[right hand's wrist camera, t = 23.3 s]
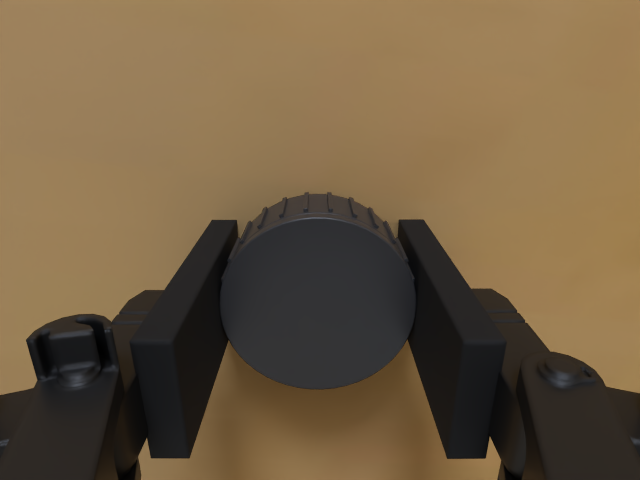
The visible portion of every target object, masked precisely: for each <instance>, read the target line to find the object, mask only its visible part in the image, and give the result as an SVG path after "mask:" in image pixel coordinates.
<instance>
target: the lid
mask: <svg viewBox="0 0 640 480" xmlns="http://www.w3.org/2000/svg"><path fill="white" fill-rule="evenodd" d="M227 262H228V265H227V267H226V269H225V271H224V274H223V276H222V278H221V282H222V286H221V290H220V301H219V305H220V316H221V320H222V325H223V327H224V330H225V333H226V335H227V337H228V339H229V341H230V343H231V345H232V346H233V348H234V349H235V350H236V352H237V353H238V354H239V355H240V356H241V358H242V359H243V360H244V361H245V362H246V363H247V364H249V365H250V366H251V367H252V368H254V369H255V370H256V371H258V372H259V373H261V374H263V375H264V376H266V377H268V378H270V379H272V380H274V381H277V382H279V383H282V384H285V385H289V386H293V387H297V388H305V389H331V388H338V387H343V386H347V385H350V384H353V383H356V382H359V381H361V380H363V379H365V378H368V377H369V376H371V375H373V374H374V373H376V372H378V371H379V370H380V369H382V368H383V367H384V366H386V365H387V364H388V363H389V362H390V361H391V360H392V359H393V358H394V357H395V356H396V355H397V354H398V352H399V351H400V350H401V349H402V347H403V345H404V344H405V342H406V340H407V339H408V337H409V334H410V332H411V330H412V327H413V323H414V319H415V314H416V306H417V305H416V291H415V286H414V282H415V279H414V276H413V274H412V272H411V270H410V267H409V265H408V263H407V262H409V261H408V258H407V256H406V254H405V252H404V250H403V248H402V245H401V243H400V241H399V239H398V238H394V235H393V233H392V231H391V229H390V226H389V224H388V222H387V221H385V222H383V221H382V220H381V219H380V218H379V217H378V216H377V215H376V214H374V212H373V209H372V208H371V207H369V208H366V207H364V206H363V205H361V204H359V203H357V202H354V200H353V198H351V197H349V199H347V198H343V197H339V196H334V195H331V193H330V192H327V194H309V193H308V192H306V193H305V194H304V195H301V196H297V197H293V198H289V199H287V197H285V198H283V200H282V201H281V202H279V203H277V204H275V205H273V206H271V207H270V208H267V207H265V208H264V209H263V211H262V213H261V214H260V215H259V216H258V217H257V218H256V219H255V220H254V221H253V222H251V221H249V222H248V223H247V226H246V228H245V231H244V233H243V235H242V237H241V239H240V238H237V240H236V243H235V245H234V247H233V249H232V252H231V254H230V256H229V258H228V260H227Z"/></svg>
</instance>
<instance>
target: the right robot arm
mask: <svg viewBox="0 0 640 480" xmlns="http://www.w3.org/2000/svg"><path fill="white" fill-rule="evenodd" d="M237 238H238V230H237V220H212V221H211V223H210V224H209V226H208V227H207V228H206V230H205V231H204V233H203V234H202V236H201V237H200V239H199V240H198V242H197V243H196V245H195V246H194V247H193V249H192V250H191V252H190V253H189V255H188V256H187V258H186V259H185V261H184V262H183V264H182V265H181V266H180V268H179V269H178V271H177V272H176V274H175V275H174V277H173V278H172V280H171V281H170V283H169V284H168V285H167V287H166V288H165V290H145V291H143V292H142V293H140V294H138V295H137V296H135V297H133V298H132V299H130V300H129V301H128V302H127V303H126V305H125V306H124V307H123V308H122V310H121V311H120V312H119V315H117V316H116V317H115V318H114V319H113V321H112V322H111V321H110V320H108V319H107V318H106V317H104V316H100V315H96V314H78V315H73V316H69V317H64V318H61V319H58V320H55V321H53V322H50V323H47V324H45V325H44V326H42V327H40V328H39V329H37V330H35V331H34V332H33V333H32V334H31V335H30V336H29V337H28V338H27V339H26V342H27V345H28V349H29V352H30V356H31V359H32V363H33V366H34V370H35V373H36V377H37V380H38V381H37V383H36V385H35V387H34V388H32V389H28V390H24V391H19V392H14V393H9V394H4V395H0V480H141V471H140V464H139V459H138V455H139V453H140V451H141V449H142V447H143V445H144V442H145V440H146V438H147V440H148V445H149V450H150V456H151V458H190V455H191V452H192V449H193V446H194V443H195V440H196V437H197V434H198V431H199V428H200V425H201V422H202V419H203V416H204V413H205V409H206V406H207V403H208V400H209V397H210V394H211V391H212V388H213V385H214V382H215V379H216V376H217V373H218V370H219V367H220V364H221V361H222V358H223V355H224V352H225V349H226V346H227V343H228V340H229V339H228V337H227V335H226V333H225V330H224V327H223V325H222V320H221V316H220V305H219V301H220V290H221V286H222V282H221V278H222V276H223V274H224V271H225V269H226V267H227V265H228V262H227V260H228V258H229V256H230V254H231V252H232V249H233V247H234V245H235V243H236V240H237ZM398 239H399V241H400V243H401V245H402V248H403V250H404V252H405V254H406V256H407V258H408V261H409V262H407V263H408V265H409V267H410V270H411V272H412V274H413V276H414V279H415V282H414V286H415V291H416V305H417V306H416V314H415V319H414V323H413V327H412V330H411V332H410V334H409V337H408V342H409V345H410V348H411V351H412V354H413V357H414V360H415V363H416V366H417V369H418V372H419V375H420V378H421V381H422V384H423V387H424V390H425V393H426V396H427V399H428V402H429V405H430V408H431V411H432V414H433V417H434V420H435V423H436V426H437V429H438V432H439V435H440V438H441V441H442V444H443V447H444V450H445V453H446V456H447V459H481V458H486V454H487V448H488V443H489V437H491V439H492V441H493V443H494V446H495V448H496V450H497V452H498V454H499V456H500V458H501V464H500V469H499V474H498V479H497V480H640V393H635V392H629V391H624V390H619V389H614V388H610V387H606V386H605V384H604V382H603V380H602V378H601V377H600V376H599V375H598V373H597V372H596V371H595V370H594V369H593V368H591V367H590V366H588V365H587V364H585V363H584V362H582V361H580V360H578V359H575V358H573V357H571V356H569V355H565V354H561V353H556V352H550V351H549V349H548V348H547V347H546V346H545V344H544V343H543V342H542V341H541V340H540V338H539V337H538V336H537V335H536V333H535V332H534V331H533V330H532V328H531V327H530V326H529V325H528V323H525V320H524V319H523V317H522V316H521V315H520V314H519V313H517V310H516V309H515V307H514V306H513V305H512V304H511V302H510V301H509V300H508V299H507V298H505V297H504V296H502V295H501V294H499V293H497V292H496V291H494V290H492V289H471V288H470V287H469V285H468V284H467V283H466V281H465V280H464V278H463V277H462V275H461V274H460V272H459V271H458V269H457V268H456V266H455V265H454V264H453V262H452V261H451V259H450V258H449V256H448V255H447V253H446V252H445V250H444V249H443V247H442V246H441V245H440V243H439V242H438V240H437V239H436V237H435V236H434V234H433V233H432V231H431V230H430V228H429V227H428V226H427V224H426V223H425V221H424V220H399V227H398Z"/></svg>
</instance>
